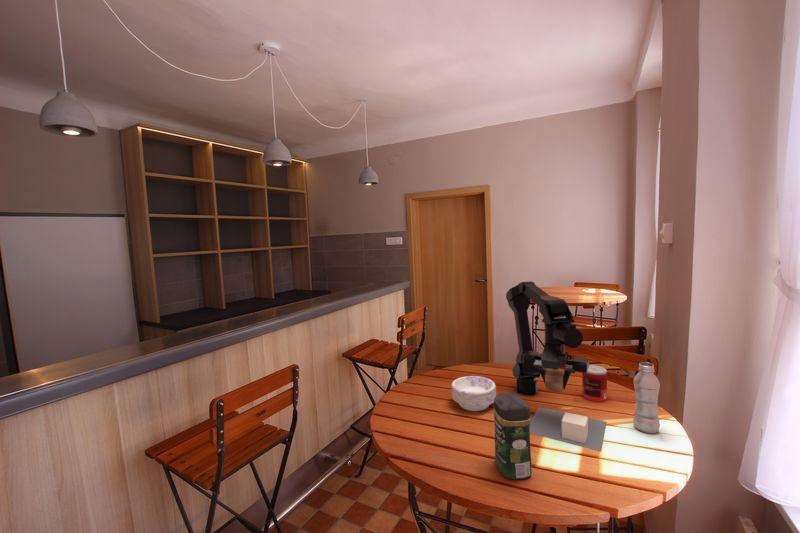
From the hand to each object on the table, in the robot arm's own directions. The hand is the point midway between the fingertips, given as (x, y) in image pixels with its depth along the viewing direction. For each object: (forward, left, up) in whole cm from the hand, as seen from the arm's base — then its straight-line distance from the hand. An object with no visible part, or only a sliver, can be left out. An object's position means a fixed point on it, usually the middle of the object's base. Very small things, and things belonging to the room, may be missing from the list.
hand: (555, 387), depth 113 cm
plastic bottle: (+24, +5, -10) cm, 27 cm away
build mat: (+4, -5, -10) cm, 12 cm away
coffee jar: (-4, -32, -10) cm, 34 cm away
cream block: (+7, -9, -10) cm, 15 cm away
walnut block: (0, 0, 0) cm, 0 cm away
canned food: (+9, +21, -10) cm, 25 cm away
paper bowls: (-26, -4, -11) cm, 28 cm away
